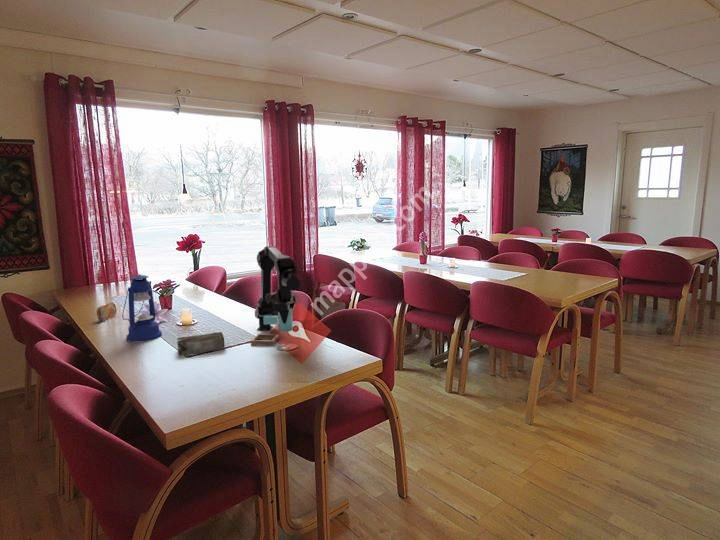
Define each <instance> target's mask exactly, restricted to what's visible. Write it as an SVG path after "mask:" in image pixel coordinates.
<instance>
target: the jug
mask: <svg viewBox="0 0 720 540" xmlns="http://www.w3.org/2000/svg"><path fill="white" fill-rule="evenodd" d="M289 308H290V312H289V315H288V318H287V321H286V323H285V324H283V322H282V319H281V316H280V313H279V312H278V311H277V315H274V316H264V317H263V320H264V324H271V325H278V331H279V332H282V333H286V332H288V333H289V332H292V331H293V330H294V329H293V326H294V325H293V324H294V323H293V321H294V320H293V311H292V308H291V307H289Z"/></svg>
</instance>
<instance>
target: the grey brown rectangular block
mask: <svg viewBox="0 0 720 540" xmlns="http://www.w3.org/2000/svg"><path fill="white" fill-rule="evenodd" d="M176 340H177V341H176V344H177V352H178V353H177V354H178V356H184V355H185V354H186V355H192V353H194V354H198V353H200V354H201V353H205V352H206V353H207V352H213V351H219V350H224V349H225V337H224V334H223V332H222V331H219V332H217V331H215V332H211V333H204V334H198V335H190V336H189V335H188V336H181V337H180V336H179V337H177V339H176Z"/></svg>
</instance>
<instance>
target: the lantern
mask: <svg viewBox="0 0 720 540" xmlns="http://www.w3.org/2000/svg"><path fill="white" fill-rule="evenodd" d="M148 278H149V276H148V275H146V274H145V275H144V274H137V275H134V276H131V277H129V279H130V280H131V282H130V287H128V288H127V290H126V291H127V292H126V297H125V301H124V307H123V310H122V320H123V321H125V320H128V322H129V326H128V333H127V335H126V340H127V341H128V340H129V341H128V342H132V341H142V342H147V341H148V340H149V341H153V340H155V339H159V338H161V337H162V336H161V335H162V331H161V330H160V326H159V323H158V322H156V321H154V320H155V308H154V302H155V301H154V294H153V288H152V281H149V280H148ZM127 298H128V317H129V318H124V311H125V307H126V304H127ZM145 301H148V305H149V307H150V308H149V311H150V315H145V314H141V313H140V311H142V310H143V309H144V308H146V306H145V305H144V304H145ZM135 302H139V304H140V305H141V308H140V309H139V310H137V311H136V314H135ZM140 302H142V303H140ZM143 306H144V307H143ZM137 312H138V313H137ZM139 314H140V315H139ZM160 336H161V337H160Z"/></svg>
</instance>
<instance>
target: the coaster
mask: <svg viewBox="0 0 720 540" xmlns="http://www.w3.org/2000/svg"><path fill="white" fill-rule="evenodd" d="M288 343H289V342H288ZM284 344H285V343H280V344H278V345H277V346H276V349H277V348H278V349H280V350H279V351H281V350H285V348H286V347H283V346H284ZM280 345H281V346H280ZM287 347H289V348H288V349H289V350H290V343H289V346H287ZM278 349H277V350H278ZM286 350H287V349H286ZM290 351H291V350H290Z"/></svg>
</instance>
